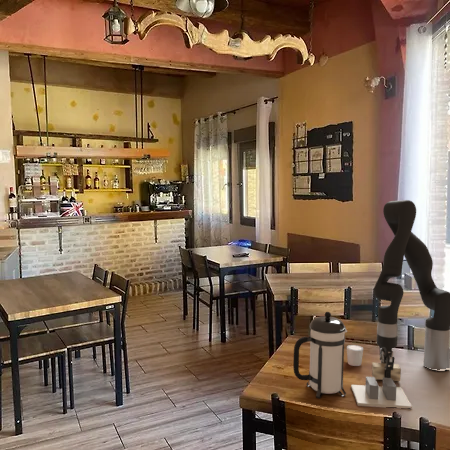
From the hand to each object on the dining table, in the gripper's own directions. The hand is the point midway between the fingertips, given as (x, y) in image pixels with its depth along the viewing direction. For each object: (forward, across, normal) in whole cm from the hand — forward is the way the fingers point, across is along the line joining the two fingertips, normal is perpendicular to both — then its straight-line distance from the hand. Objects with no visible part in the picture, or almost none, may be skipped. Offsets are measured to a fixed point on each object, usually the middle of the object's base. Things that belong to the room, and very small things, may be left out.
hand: (385, 375), depth 172 cm
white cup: (+2, +15, +9) cm, 18 cm away
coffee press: (+2, -13, +26) cm, 29 cm away
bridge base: (+2, -15, +6) cm, 16 cm away
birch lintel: (+1, 0, 0) cm, 1 cm away
